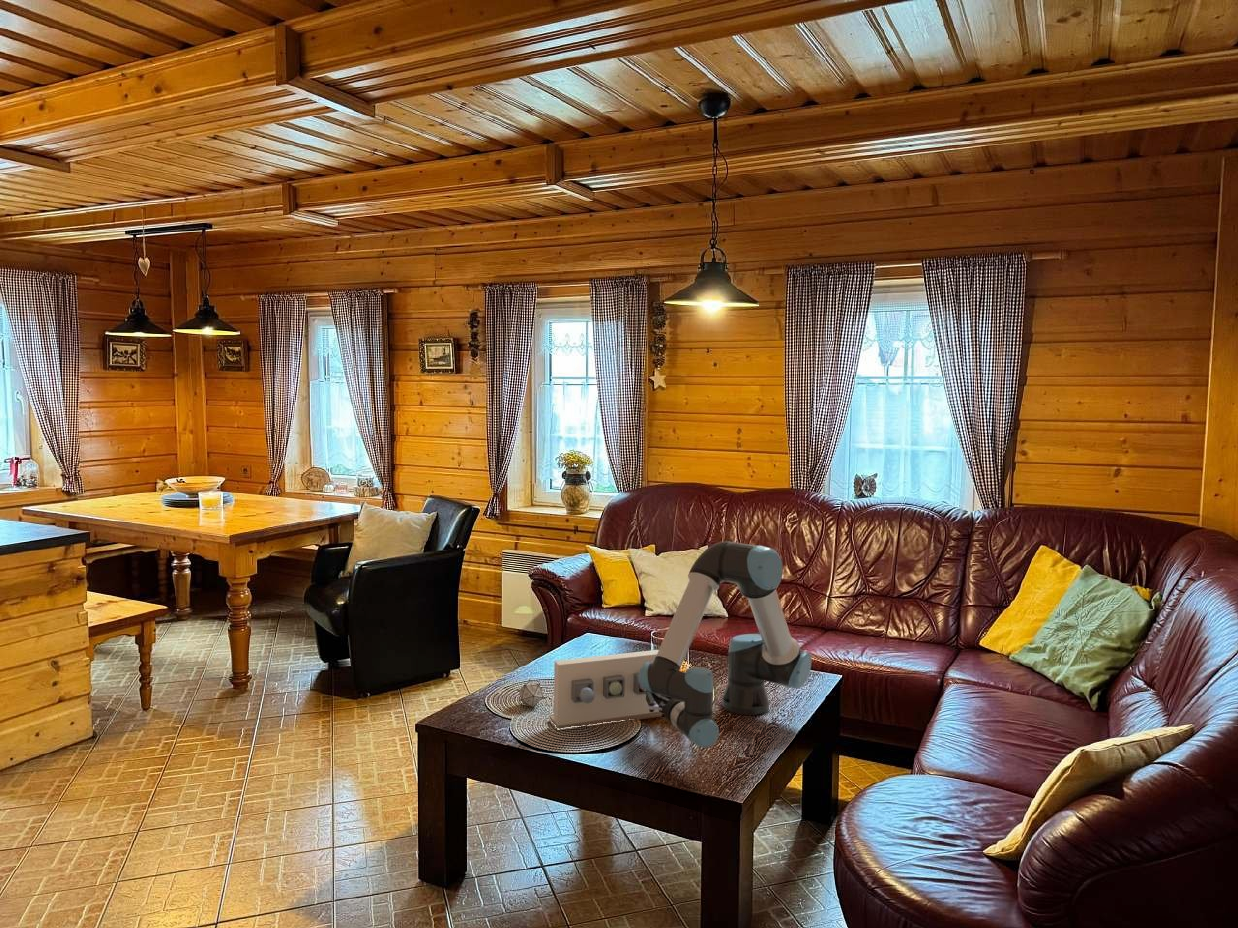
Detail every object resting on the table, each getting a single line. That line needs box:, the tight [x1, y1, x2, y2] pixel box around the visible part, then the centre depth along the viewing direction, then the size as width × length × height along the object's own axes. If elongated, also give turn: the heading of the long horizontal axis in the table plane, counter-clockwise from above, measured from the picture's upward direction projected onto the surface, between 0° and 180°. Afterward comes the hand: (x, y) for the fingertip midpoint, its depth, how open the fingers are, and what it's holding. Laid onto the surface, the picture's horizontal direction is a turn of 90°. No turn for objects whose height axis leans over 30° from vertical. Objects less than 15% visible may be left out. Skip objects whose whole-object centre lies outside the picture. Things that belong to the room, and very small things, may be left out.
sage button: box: [608, 681, 622, 695], centre depth 250 cm, size 2×4×4 cm, turn 112°
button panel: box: [549, 649, 663, 728], centre depth 255 cm, size 11×34×20 cm, turn 112°
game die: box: [516, 678, 546, 709], centre depth 265 cm, size 9×8×10 cm
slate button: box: [579, 687, 595, 703], centre depth 244 cm, size 2×4×4 cm, turn 112°
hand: (646, 685), depth 253 cm, fingers closed
